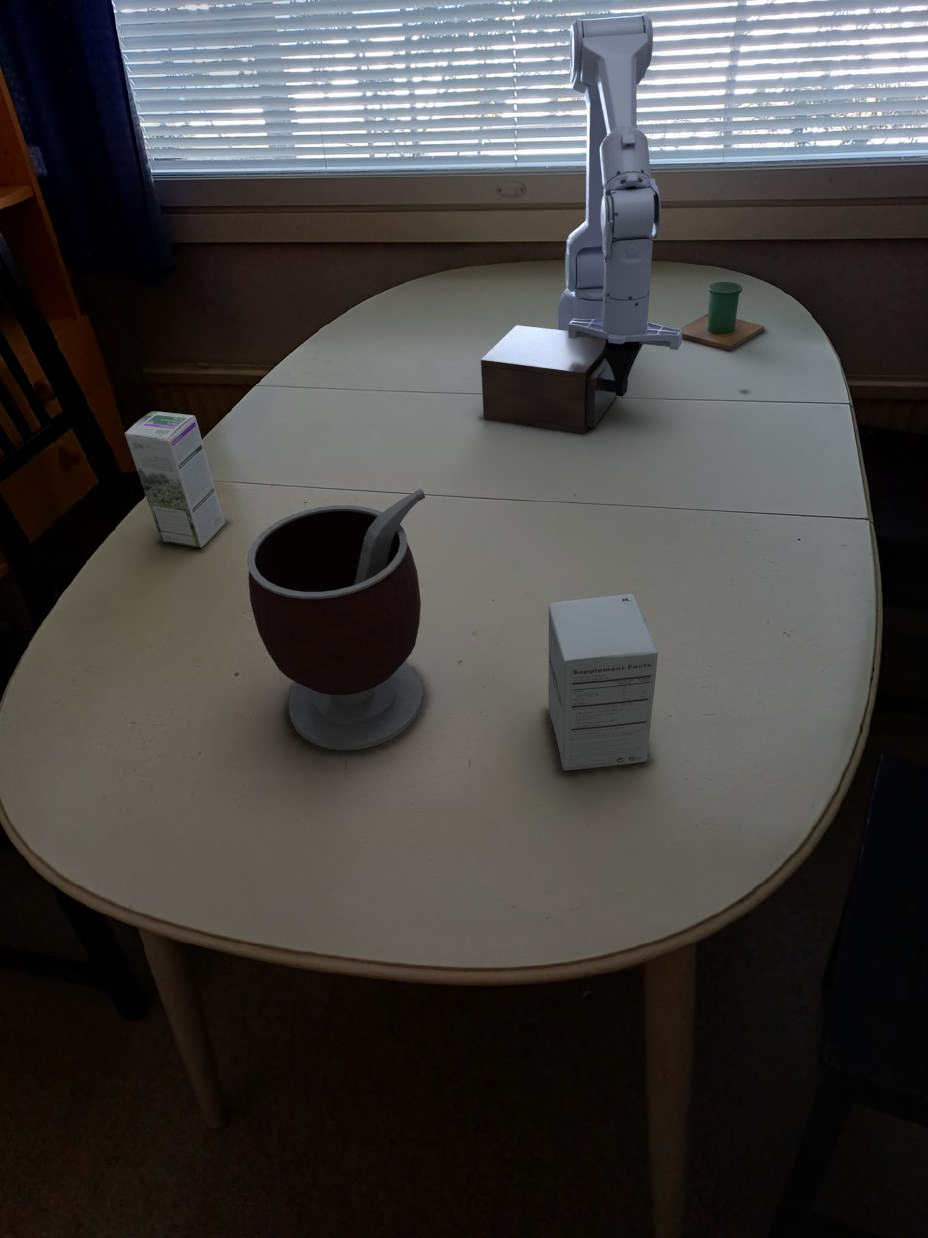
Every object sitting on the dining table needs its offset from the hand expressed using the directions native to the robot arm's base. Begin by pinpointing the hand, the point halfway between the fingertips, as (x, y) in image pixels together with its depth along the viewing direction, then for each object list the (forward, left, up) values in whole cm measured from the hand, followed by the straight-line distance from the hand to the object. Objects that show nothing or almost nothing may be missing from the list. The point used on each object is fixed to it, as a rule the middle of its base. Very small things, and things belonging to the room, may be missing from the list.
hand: (621, 393), depth 121 cm
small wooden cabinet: (-10, -4, -3) cm, 11 cm away
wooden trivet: (-5, +32, -3) cm, 33 cm away
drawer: (-8, -3, -2) cm, 8 cm away
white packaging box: (+34, -50, -4) cm, 60 cm away
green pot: (-5, +33, -3) cm, 33 cm away
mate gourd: (+15, -60, -4) cm, 61 cm away
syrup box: (-22, -54, -4) cm, 59 cm away
